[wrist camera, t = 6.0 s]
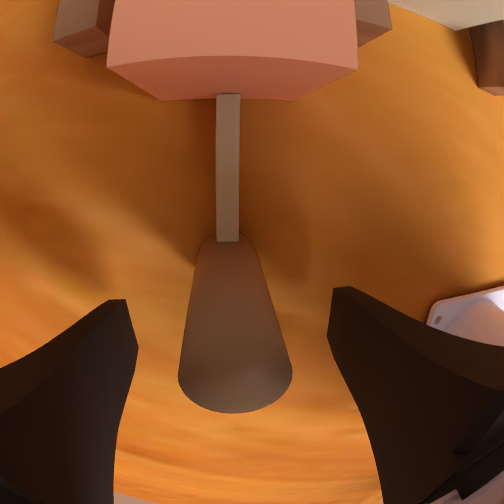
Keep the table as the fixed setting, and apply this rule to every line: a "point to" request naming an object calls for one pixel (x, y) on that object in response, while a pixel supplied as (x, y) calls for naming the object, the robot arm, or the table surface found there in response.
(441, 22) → the plain block
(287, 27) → the tethered block
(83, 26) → the lane rack
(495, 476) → the robot arm
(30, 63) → the table surface
